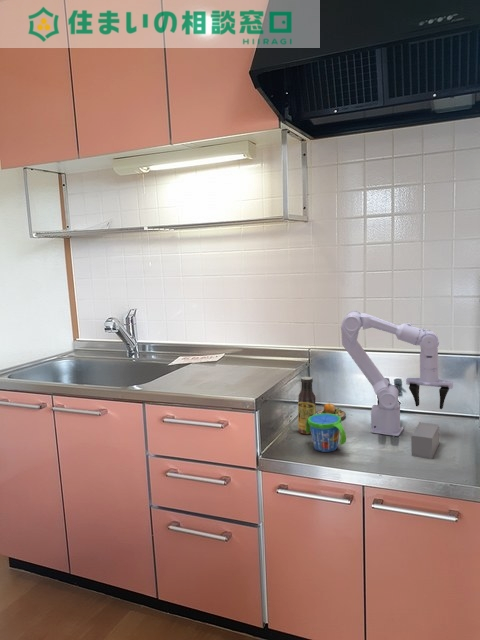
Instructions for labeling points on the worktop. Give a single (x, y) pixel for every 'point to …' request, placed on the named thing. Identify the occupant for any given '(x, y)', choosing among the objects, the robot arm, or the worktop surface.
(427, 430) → the grey rectangular block
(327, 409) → the fruit bowl
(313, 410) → the sauce bottle
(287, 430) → the worktop surface
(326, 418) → the snack cup
